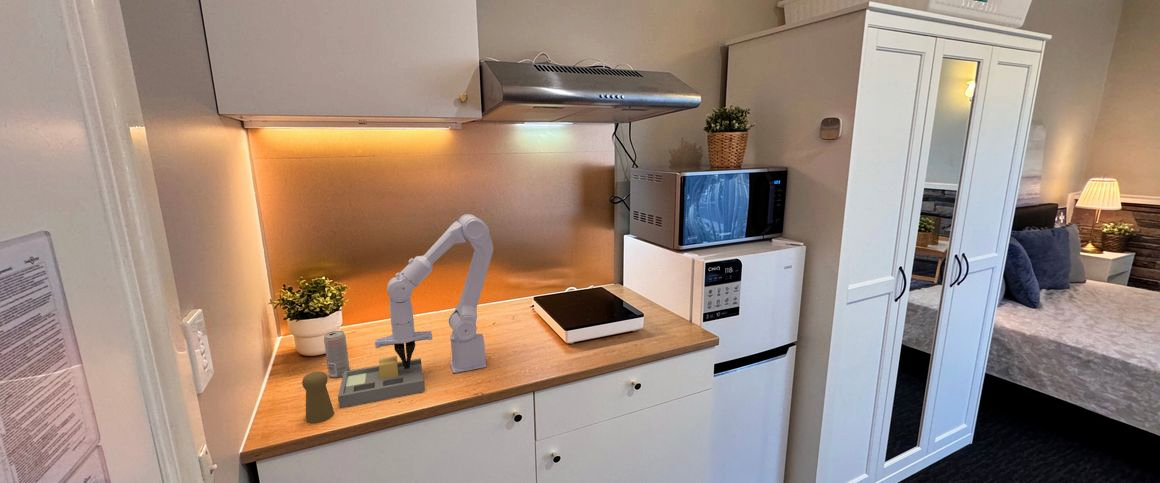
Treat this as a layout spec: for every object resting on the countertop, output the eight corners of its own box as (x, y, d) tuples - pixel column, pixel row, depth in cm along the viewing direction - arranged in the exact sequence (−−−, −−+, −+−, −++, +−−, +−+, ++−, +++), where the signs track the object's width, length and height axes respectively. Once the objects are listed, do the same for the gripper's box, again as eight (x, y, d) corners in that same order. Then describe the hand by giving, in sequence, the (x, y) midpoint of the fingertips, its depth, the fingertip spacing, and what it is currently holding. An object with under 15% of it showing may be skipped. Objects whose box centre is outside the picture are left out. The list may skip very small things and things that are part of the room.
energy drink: (344, 367, 136) (339, 329, 134) (353, 372, 133) (348, 333, 130) (325, 374, 132) (320, 335, 130) (334, 380, 129) (328, 339, 126)
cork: (310, 411, 114) (304, 369, 112) (337, 407, 115) (331, 366, 113) (301, 425, 108) (295, 382, 106) (330, 421, 110) (324, 378, 107)
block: (398, 368, 131) (396, 355, 130) (398, 376, 126) (396, 362, 126) (380, 371, 129) (379, 358, 128) (380, 379, 125) (378, 365, 124)
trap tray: (421, 368, 135) (420, 358, 134) (424, 391, 122) (423, 380, 121) (345, 382, 128) (343, 371, 127) (339, 408, 115) (337, 396, 114)
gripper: (429, 312, 133) (433, 356, 135) (374, 319, 127) (379, 365, 130) (431, 320, 126) (435, 367, 129) (372, 329, 121) (378, 377, 124)
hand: (407, 367), depth 129 cm, fingers closed
